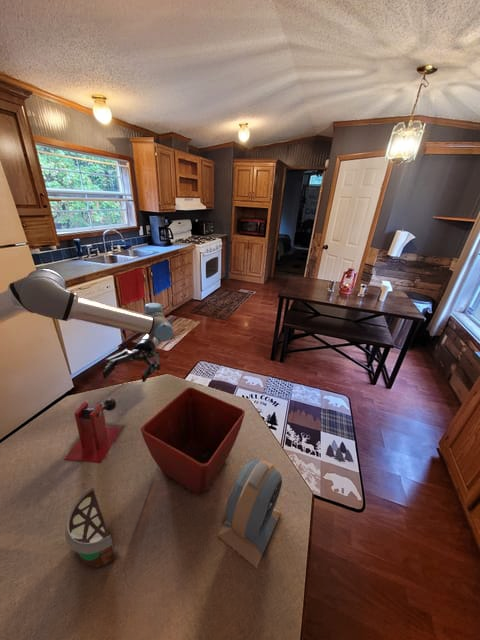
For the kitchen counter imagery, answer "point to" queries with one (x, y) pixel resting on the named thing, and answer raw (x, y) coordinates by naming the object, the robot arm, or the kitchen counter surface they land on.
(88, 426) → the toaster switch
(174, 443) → the flower pot
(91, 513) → the multicoloured piece
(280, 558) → the kitchen counter surface
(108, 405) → the lever
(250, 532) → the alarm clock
